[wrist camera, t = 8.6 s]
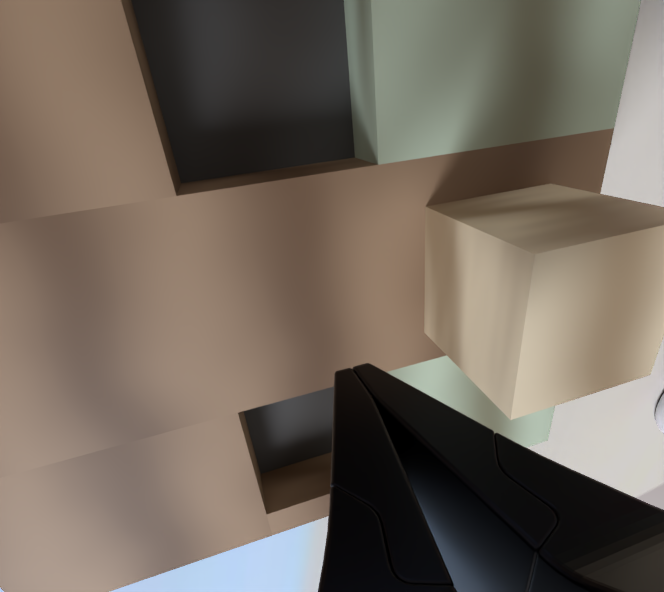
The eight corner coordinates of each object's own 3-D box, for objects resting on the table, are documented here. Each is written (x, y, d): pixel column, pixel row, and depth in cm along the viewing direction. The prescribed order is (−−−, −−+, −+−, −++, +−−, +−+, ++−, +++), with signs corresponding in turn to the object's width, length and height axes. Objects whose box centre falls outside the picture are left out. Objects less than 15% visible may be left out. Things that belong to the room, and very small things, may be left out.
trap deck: (50, 557, 18) (28, 619, 16) (-468, -137, 7) (-746, -240, 5) (515, 409, 23) (547, 440, 21) (597, -126, 13) (678, -175, 10)
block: (424, 332, 15) (510, 420, 11) (425, 206, 13) (534, 254, 9) (532, 304, 16) (650, 374, 12) (550, 183, 14) (704, 215, 10)
